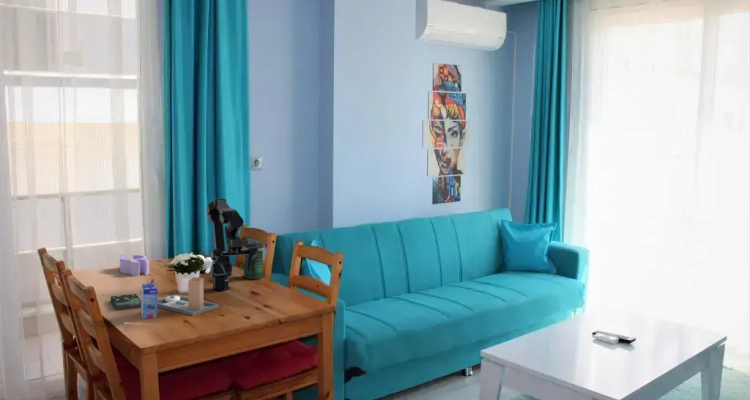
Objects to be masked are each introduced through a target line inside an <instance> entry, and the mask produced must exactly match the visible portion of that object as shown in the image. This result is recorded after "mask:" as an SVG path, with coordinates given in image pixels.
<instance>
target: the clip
mask: <svg viewBox="0 0 750 400" xmlns="http://www.w3.org/2000/svg"><path fill="white" fill-rule="evenodd" d="M119 272H120V273H123V274H127V275H128V274H130V276H131V277H132V276H133V277H140V276H141V275H140V274H144V276H149V275H150V260H149V259H148V257H147V255H144V254H137V253H133V254H132V258H131V259H130V258H128V256H127V255H126V254H125V255H120V256H119ZM148 274H149V275H148Z"/></svg>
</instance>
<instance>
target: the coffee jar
mask: <svg viewBox="0 0 750 400" xmlns="http://www.w3.org/2000/svg"><path fill="white" fill-rule="evenodd" d="M248 247H257V248H258V254H257V256H256V257H254V258H253V259H252V260H251V264H250V270H249V272H247V265H246V258H247V257H246V255H244V265H243V266H244V267H243V276H244V277H245V278H247V279H251V280H253V279H254V280H259V279H258V278H260V279H261V278H264V266H263V265H264V263H263V262H264V261H263V260H264V257H263V255H264V249H265V248H264V242H263V241H259V240H257V239H248V244H247V245H244V247H243V250H247V249H248Z"/></svg>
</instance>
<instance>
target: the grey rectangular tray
mask: <svg viewBox="0 0 750 400" xmlns="http://www.w3.org/2000/svg"><path fill="white" fill-rule="evenodd" d="M219 306H220V304H219V303H215V302H211V301H206V300H204V307H203V308H202V309H200V310H196V311H195V310H188V296H184V295H180V294H174V295H167V296H165V297H163V298H160V299H157V308H160V309H166V310H169V311H173V312H178V313H182V314H185V315H188V316H196V315H198V314H202V313H204V312H208V311H211V310H215V309H217V308H219Z"/></svg>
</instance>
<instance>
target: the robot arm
mask: <svg viewBox="0 0 750 400" xmlns="http://www.w3.org/2000/svg"><path fill="white" fill-rule="evenodd" d="M226 199H227V198H224V197H223V198H214V199H213V201H212V202H209V204H208V205H207V207H206V215H207V219H208V221H209V222H210V223H211V225H212V230H213V231H212V233H213V243H214V249H213V250H212V251H211V253H210V257H211V260H213V261H212V266H211V269H210V272H209V274H210V275H209V276H210V277H211V278H212V287H210V290H214V291H217V292H224V291H227V290H230V289H231V287H230V286H229V282H230V281H229V277H231V276H232V272H233V265H232V263H231V258H230V257H231V256H232V257H234V256H245V255H246V257H247V258H246V265H247V272H249V270H250V264H251V260H252V259H253V258H254V257H256V256H257V254H258V248H257V247H248V249H247V250H244V245H247V244H248V240H249V237H248V236H243V237H240V234H239V233H240V231H241V229H242V227H243V225H244V222H245V220H244V219H243V218H242V216H241V215H240V213H239V212H238V210H236V209H235V208H231V207H230V205H229V204H228V202H227V200H226ZM224 225H225V226H224ZM225 246H226V247H225Z"/></svg>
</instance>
